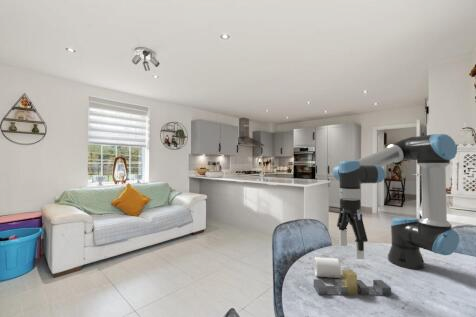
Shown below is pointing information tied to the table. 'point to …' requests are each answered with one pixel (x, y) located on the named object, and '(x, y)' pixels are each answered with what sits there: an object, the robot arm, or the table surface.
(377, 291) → the rail
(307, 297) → the table surface
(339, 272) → the mug
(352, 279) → the block
